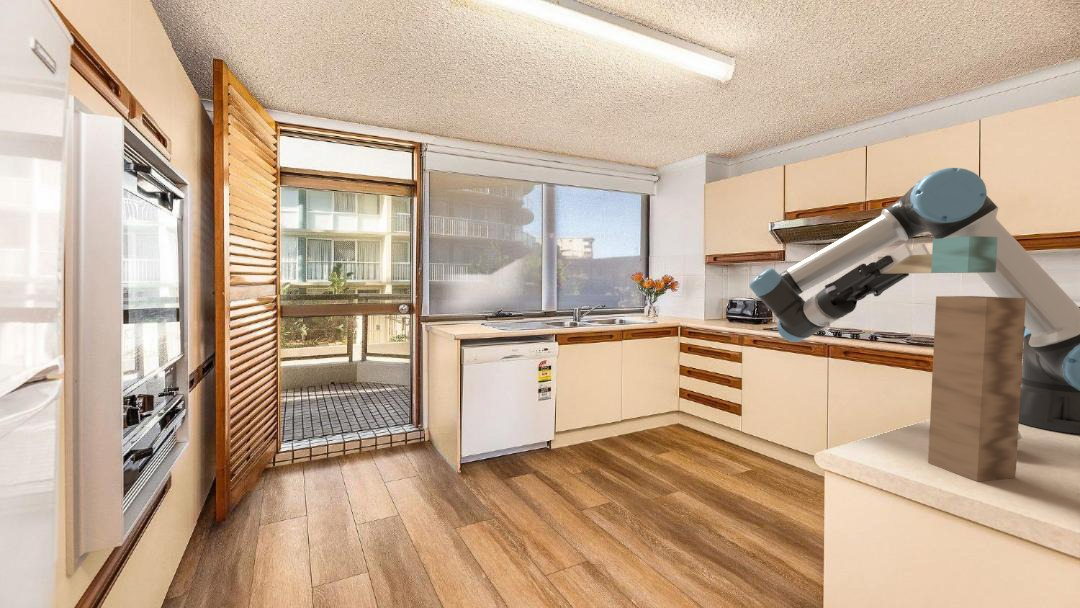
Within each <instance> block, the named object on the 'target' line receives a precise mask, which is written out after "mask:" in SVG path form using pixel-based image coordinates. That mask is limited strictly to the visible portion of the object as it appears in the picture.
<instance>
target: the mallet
mask: <svg viewBox="0 0 1080 608" xmlns="http://www.w3.org/2000/svg"><path fill="white" fill-rule="evenodd" d="M997 238H998V237H981V236H965V237H953V238H941V239H935V238H933V239H932V249H931V250H932V251H931V253H930V254H925V255H913V256H911V257H910V258H908V259H906V260H905V261H903V262H902V263H900V264H898V265H897V266H895V267H894V268H892V269H890V270H889V271H887V272H886V273H882V271H881V270H880V273H881V274H900V273H909V274H972V273H975V274H976V273H977V274H978V273H989V272H996V257H997ZM882 257H883V256H878V257H877V261H878V260H879V259H881V258H882Z"/></svg>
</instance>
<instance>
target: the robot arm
mask: <svg viewBox="0 0 1080 608" xmlns="http://www.w3.org/2000/svg"><path fill="white" fill-rule="evenodd" d="M987 193H988V192H987V186H986V183H985V181H984V180H983V179H982V178H981V176H980V175H978V174H977V173H975V172H974V171H971V170H970V169H966V168H960V167H947V168H946V167H945V168H942V169H939V170H936V171H932V172H931V173H928V174H927V175H925V176H923V177H922V178H921V179H920V180H918V181H917V182H916V184H915V185H913V186H912V187H911V188H910V189H908V191H906V192H905V193H904V194H903V195H902V196H901V197H899V199H897V200H896V201H895V202H893V203H892V204H890V205H887V206H886V207H884V208H883V209H882V210H881V213H880V215H879V216H877V217H875V218H874V219H872V220H870V221H868V222H867V223H865V224H864V225H862V226H860V227H858V228H857V229H855V230H853V231H851V232H849V233H848V234H846V235H845V236H842V237H841V238H839V239H838V240H836V241H834V242H832V243H831V244H829V245H827V246H826V247H824V248H822V249H820V250H819V251H817V252H815V253H813V254H812V255H810V256H808V257H806V258H805V259H803V260H801V261H799V262H798V263H796V264H795V265H792V266H791V267H789V268H788V269H786V270H784V271H782V272H780V273H779V272H777V271H776V270H775V269H774V268H772V267H769V268H767V269H766V270H764V271H763V272H761V273H760V274H759V275H757V276H756V277H755V278H754V279H753V280H752V281H750V283H749V288H750V290H751V291H752V292H753V293H754V295H755V296H756V297H758V298H759V299H760V301H761V302H762V303H763V304H764V305H765V306H766V307H767V308H768V309H769V310H770V311H771V312H772V313H773V314H774V315H775V318H777V319H778V321H777V323H776V329H777V331H778V334H779V335H780V336H781V337H782V338H783V339H784V340H786V341H788V342H790V343H798V342H801V341H802V340H804V339H807V338H810V337H812V336H813V335H815V334H817V333H818V332H819V331H821V330H823V329H824V328H829V327H830V326H831V324H833V323H834V322H836V321H838V320H840V319H841V318H844V317H845V316H847V315H848V314H851V313H852V312H853V311H854V310H855V309H856V308H857V303H858V301H861V300H863V299H865V298H866V297H867V296H868V295H872V294H873V296H874V297H880V296H881V294H883V293H884V292H885V291H886V290H888V289H890V288H891V287H892V286H894V285H896V284H897V283H899V282H900V281H902V280H903V279H906V278H907V277H909V276H910V273H900V274H881V273H880V270H881V271H882V273H886V272H887V271H889V270H890V269H892V268H894V267H895V266H897V265H898V264H900V263H902V262H903V261H905V260H906V259H908V258H910V257H911V256H913V255H925V254H931V253H930V251H929V249H928V248H927V246H926V244H925V243H920V244H919V245H917V246H916V247H914V248H913V249H911V248H910V246H909V244H908V242H907V243H902V244H901V245H899V246H897V247H896V248H894V249H893V250H892V251H890V252H889V253H887V254H885V255H884V256H881V257H882V258H881V259H879V260H878V259H877V261H876V262H875V261H873V262H870V263H869V264H867V265H866V263H861V264H860V265H858V266H856V267H855V268H853V269H852V270H850V271H848V272H847V273H845V274H844V275H842V276H840V277H839V278H837V279H835V280H834V281H833V282H829V283H828V284H825V285H824V288H823V289H821V290H820V291H819V292H816V293H815V294H814V295H812V296H811V297H809V298H808V299H807V300H806V301H805V300H804V299H803V298H802V296H800V295H801V294H802V293H804V292H806V291H807V290H810V289H811V288H814V287H815V286H816V285H819V284H821V283H822V282H825V281H826V280H828V279H830V278H831V277H833V276H835V275H838V274H839V273H840V272H843V271H844V270H847V269H848V268H851V267H853V266H854V265H856V264H858V263H859V262H861V261H863V260H865V259H867V258H869V257H871V256H872V255H874V254H876V253H877V252H880V251H882V250H883V249H885V248H888V247H889V246H891V245H893V244H894V243H896V242H898V241H905V242H906V241H908V240H910V239H912V238H914V237H916V236H919V235H921V234H922V233H925V232H929V234H931V236H932V237H933V238H934V239H941V238H953V237H965V236H981V237H998V238H997V257H996V272H989V273H977V274H978V275H979V277H980V278H981V279H982V280H983V281H984V282H985V283H986V284H987V286H988V287H989V288H990V289H991V290H992V291H993V292H994V293H995V295H996V297H1012V298H1026V306H1025V323H1024V340H1023V357H1022V374H1021V391H1020V408H1019V423H1020V424H1023V425H1025V426H1031V427H1034V428H1038V429H1043V430H1049V431H1054V432H1061V433H1068V434H1078V435H1080V307H1079V306H1078V305H1077V304H1076V302H1075V301H1074V300H1073V299H1072V298H1071V297H1070V296H1069V294H1067V293H1066V292H1065V290H1063V289H1062V287H1060V285H1059V284H1058V283H1057V282H1056V281H1055V280H1054V279H1053V278H1052V277H1051V276H1050V275H1049V274H1048V273H1047V272H1046V270H1044V268H1043V267H1041V265H1040V264H1039V263H1038V262H1037V261H1036V260H1035V259H1034V257H1032V255H1031V254H1030V253H1028V251H1027V250H1026V249H1025V248H1024V246H1022V245H1021V243H1020V242H1018V241H1017V239H1016V238H1015V237H1014V236H1013V235H1012V234H1011V233H1010V232H1009V230H1007V228H1005V227H1004V226H1003V225H1002V224H1001V223H1000V221H999V220H998V218H997V215H998V211H999V206H997V205H996V203H995V202H994V201H993V200H992V199H991V198H990V197H989V196H988V195H987Z"/></svg>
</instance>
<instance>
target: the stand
mask: <svg viewBox="0 0 1080 608" xmlns="http://www.w3.org/2000/svg"><path fill="white" fill-rule="evenodd" d="M1025 306H1026V298H1012V297H998V296H982V295H980V296H979V295H978V296H977V295H961V296H960V295H957V296H956V295H953V296H952V295H951V296H949V295H948V296H947V295H946V296H945V295H944V296H943V295H941V296H939V295H938V296H937V295H936V296H935V312H934V313H935V315H934V330H933V331H934V334H933V356H932V357H933V358H932V375H931V398H930V416H929V417H930V419H929V435H928V436H929V437H928V441H929V442H928V454H927V455H928V458H927V463H928V464H930V465H933V466H936V467H938V468H941V469H943V470H946V471H949V472H951V473H954V474H956V475H959V476H961V477H965V478H966V479H969V480H972V481H975V482H984V481H985V482H986V481H995V480H1006V479H1015V478H1016V476H1017V475H1016V473H1017V457H1018V456H1017V455H1018V441H1019V440H1018V430H1019V426H1020V425H1019V408H1020V391H1021V381H1022V363H1023V344H1024V333H1025V326H1024V323H1025Z"/></svg>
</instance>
